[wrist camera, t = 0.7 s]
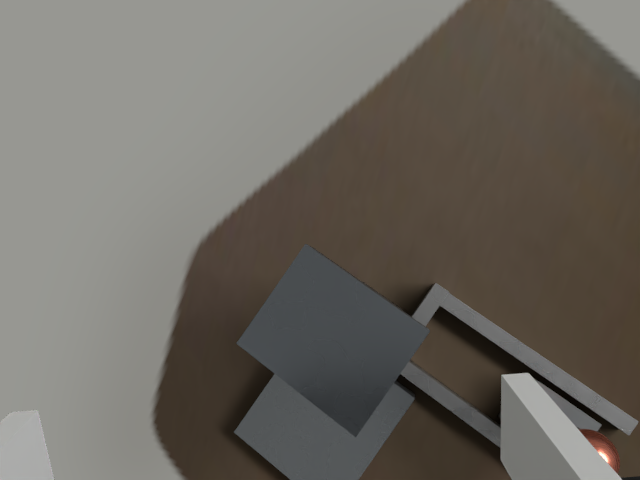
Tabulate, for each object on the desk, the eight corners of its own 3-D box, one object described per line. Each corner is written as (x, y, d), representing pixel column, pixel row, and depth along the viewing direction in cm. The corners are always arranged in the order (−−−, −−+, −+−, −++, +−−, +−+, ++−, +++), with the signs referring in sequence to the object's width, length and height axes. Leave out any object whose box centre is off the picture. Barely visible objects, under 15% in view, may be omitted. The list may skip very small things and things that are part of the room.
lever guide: (628, 416, 36) (648, 427, 33) (572, 497, 36) (586, 514, 33) (433, 283, 40) (435, 282, 37) (382, 357, 40) (380, 362, 37)
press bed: (453, 337, 39) (510, 387, 18) (336, 504, 39) (255, 751, 18) (352, 267, 41) (296, 236, 20) (241, 425, 41) (69, 563, 20)
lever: (586, 414, 36) (664, 466, 25) (555, 457, 36) (621, 528, 25) (527, 373, 37) (578, 406, 26) (497, 415, 38) (536, 466, 26)
